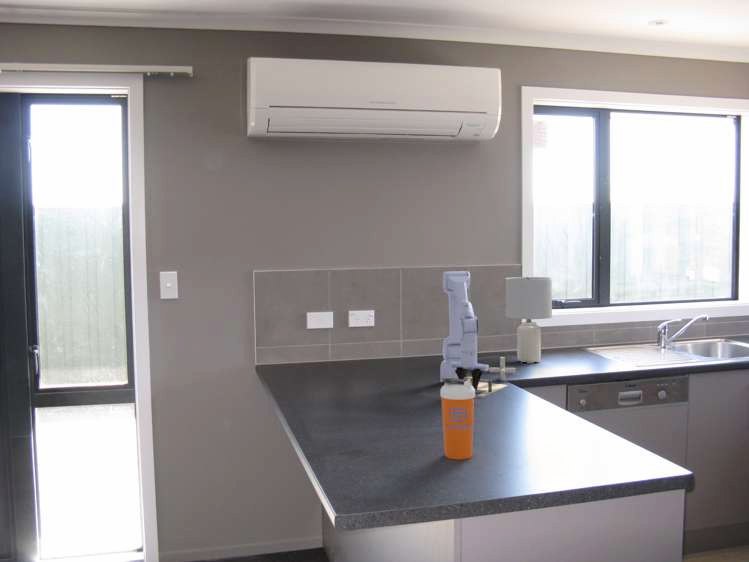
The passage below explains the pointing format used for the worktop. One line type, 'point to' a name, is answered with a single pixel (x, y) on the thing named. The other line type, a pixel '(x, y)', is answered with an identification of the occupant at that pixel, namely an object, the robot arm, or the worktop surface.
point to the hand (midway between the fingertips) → (469, 389)
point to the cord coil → (470, 380)
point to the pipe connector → (502, 369)
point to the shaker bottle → (458, 417)
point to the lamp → (529, 312)
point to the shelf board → (488, 387)
